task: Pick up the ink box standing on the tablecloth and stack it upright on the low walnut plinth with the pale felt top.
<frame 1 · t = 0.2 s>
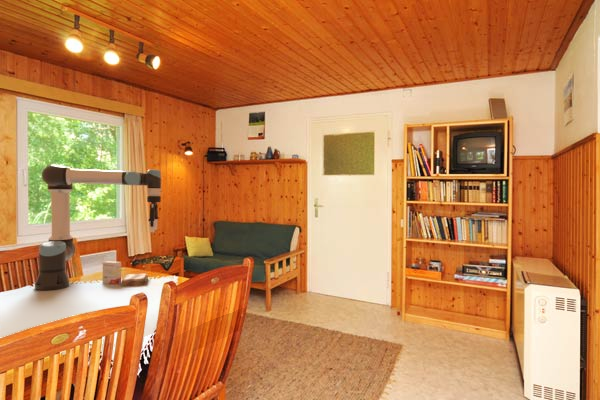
hand: (153, 230, 219), 28 cm above the table, fingers open, 13 cm apart
plinth: (135, 282, 204), on the table
ink box: (112, 283, 203), on the table
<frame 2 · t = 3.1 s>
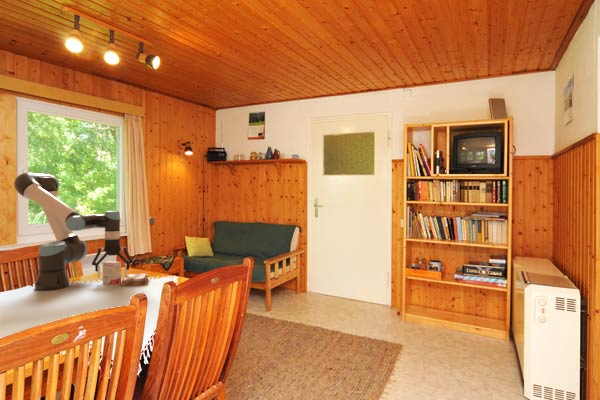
hand: (112, 276, 202), 4 cm above the table, fingers open, 13 cm apart
nothing on the table moved.
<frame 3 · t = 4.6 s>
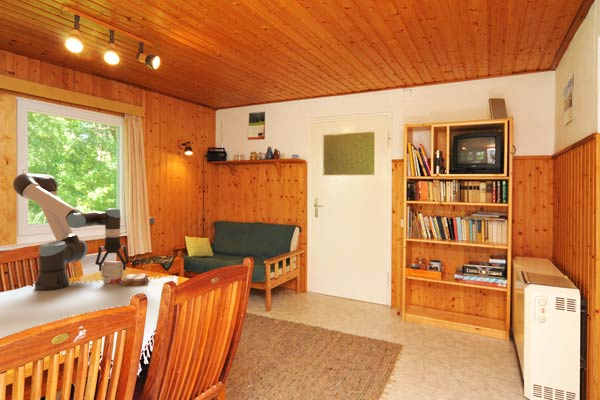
hand: (112, 276, 203), 4 cm above the table, fingers closed on ink box, 9 cm apart
ink box: (112, 282, 203), on the table, touching gripper
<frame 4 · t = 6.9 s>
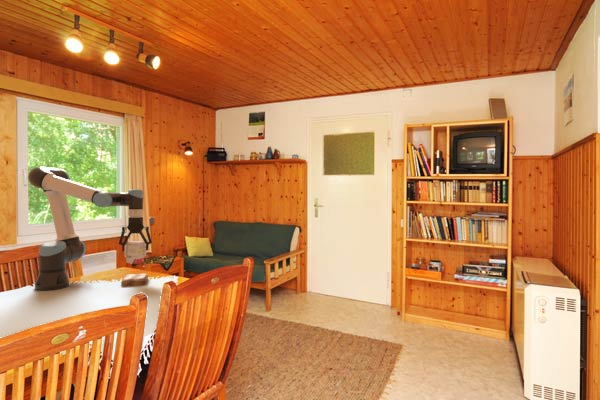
hand: (135, 256, 204), 15 cm above the table, fingers closed on ink box, 9 cm apart
ink box: (135, 263, 204), point 11 cm above the table, touching gripper
when the fingers open (6 cm above the table, at t = 8.9 s): ink box stays where it is, resting on plinth.
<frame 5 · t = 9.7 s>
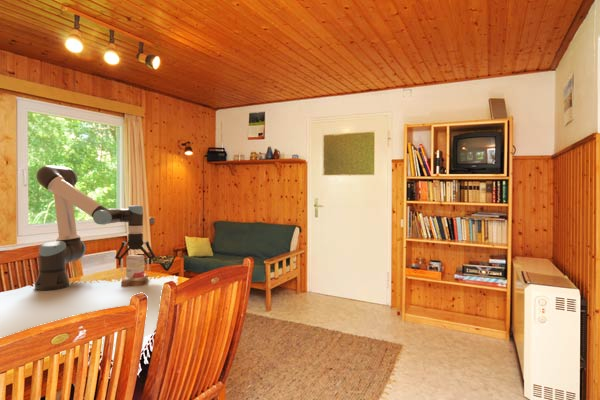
hand: (135, 270, 204), 7 cm above the table, fingers open, 13 cm apart
ink box: (135, 276, 204), point 3 cm above the table, touching plinth
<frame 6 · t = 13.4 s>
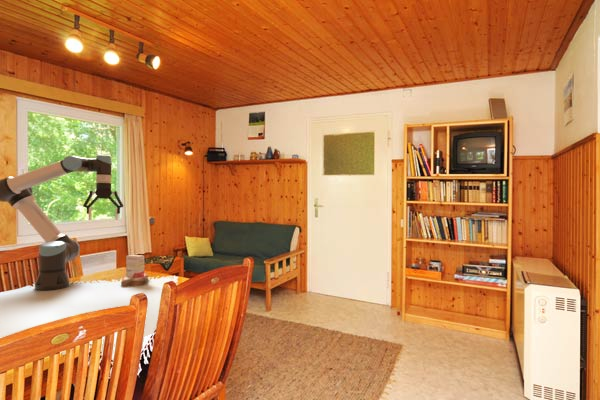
hand: (103, 219, 207), 35 cm above the table, fingers open, 13 cm apart
nothing on the table moved.
at the end: ink box inside the target area on the plinth (0.1 cm from its centre), point 3.3 cm above the plinth's base; ink box touching plinth; ink box tilted 0° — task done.
